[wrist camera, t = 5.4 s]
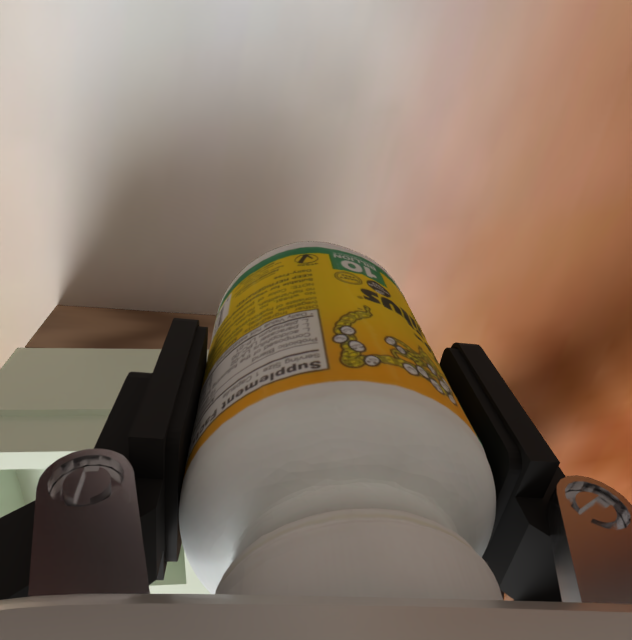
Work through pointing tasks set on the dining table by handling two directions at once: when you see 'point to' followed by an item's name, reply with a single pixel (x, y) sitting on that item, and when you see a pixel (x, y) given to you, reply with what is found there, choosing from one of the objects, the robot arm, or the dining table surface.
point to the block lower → (109, 328)
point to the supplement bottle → (331, 443)
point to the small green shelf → (66, 423)
